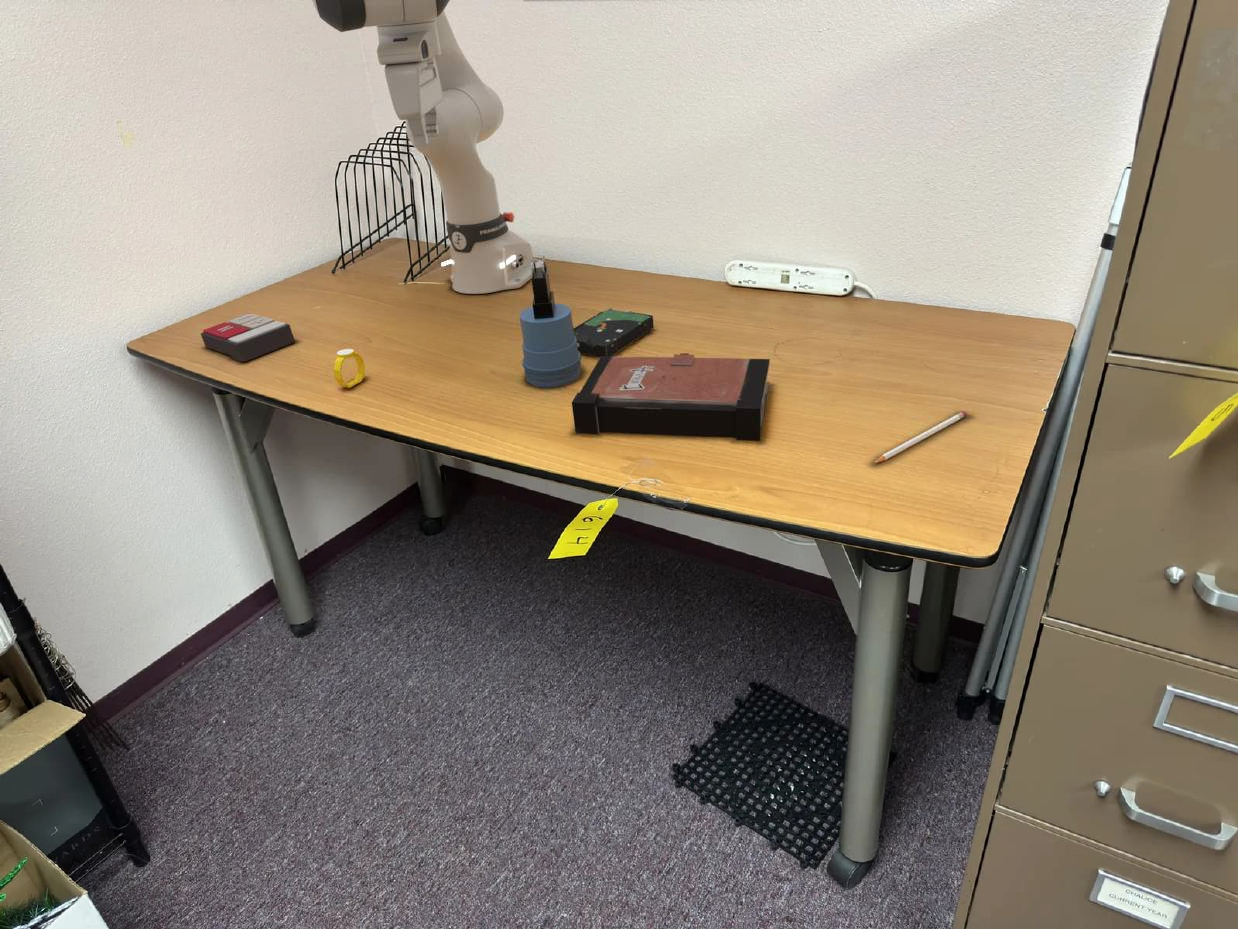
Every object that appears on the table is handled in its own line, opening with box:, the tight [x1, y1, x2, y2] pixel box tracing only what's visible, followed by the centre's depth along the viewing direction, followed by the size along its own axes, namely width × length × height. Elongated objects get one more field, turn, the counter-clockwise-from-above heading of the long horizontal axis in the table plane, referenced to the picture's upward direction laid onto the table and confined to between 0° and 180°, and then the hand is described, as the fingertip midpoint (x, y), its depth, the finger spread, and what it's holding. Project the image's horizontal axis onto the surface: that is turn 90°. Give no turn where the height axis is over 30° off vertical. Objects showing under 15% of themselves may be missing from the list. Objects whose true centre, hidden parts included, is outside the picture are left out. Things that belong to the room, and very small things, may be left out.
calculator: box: [200, 313, 296, 363], centre depth 157 cm, size 11×4×15 cm
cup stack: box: [518, 302, 582, 388], centre depth 132 cm, size 10×10×11 cm
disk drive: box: [573, 308, 654, 358], centre depth 145 cm, size 10×3×15 cm
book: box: [571, 352, 771, 442], centre depth 120 cm, size 26×18×5 cm
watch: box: [333, 348, 366, 389], centre depth 137 cm, size 6×3×6 cm, turn 156°
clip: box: [530, 255, 556, 319], centre depth 127 cm, size 5×3×8 cm, turn 1°
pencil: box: [874, 410, 968, 464], centre depth 108 cm, size 1×19×1 cm, turn 125°
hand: (427, 141), depth 132 cm, fingers open, 8 cm apart
